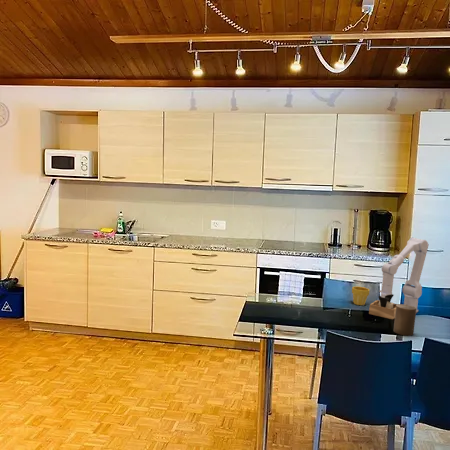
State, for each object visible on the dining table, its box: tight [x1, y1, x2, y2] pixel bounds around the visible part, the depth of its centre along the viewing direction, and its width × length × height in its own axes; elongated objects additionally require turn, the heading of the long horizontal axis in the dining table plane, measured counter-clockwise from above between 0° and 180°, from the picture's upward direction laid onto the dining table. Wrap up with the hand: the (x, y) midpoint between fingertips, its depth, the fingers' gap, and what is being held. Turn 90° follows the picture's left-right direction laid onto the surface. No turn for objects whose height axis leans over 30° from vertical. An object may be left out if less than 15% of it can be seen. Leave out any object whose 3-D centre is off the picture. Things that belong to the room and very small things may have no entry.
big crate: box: [368, 299, 398, 320], centre depth 270 cm, size 14×14×6 cm
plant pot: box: [351, 285, 370, 306], centre depth 288 cm, size 10×10×10 cm
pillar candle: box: [393, 303, 417, 337], centre depth 238 cm, size 10×10×15 cm
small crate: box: [379, 301, 395, 309], centre depth 269 cm, size 5×7×6 cm
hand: (384, 307), depth 270 cm, fingers open, 7 cm apart
